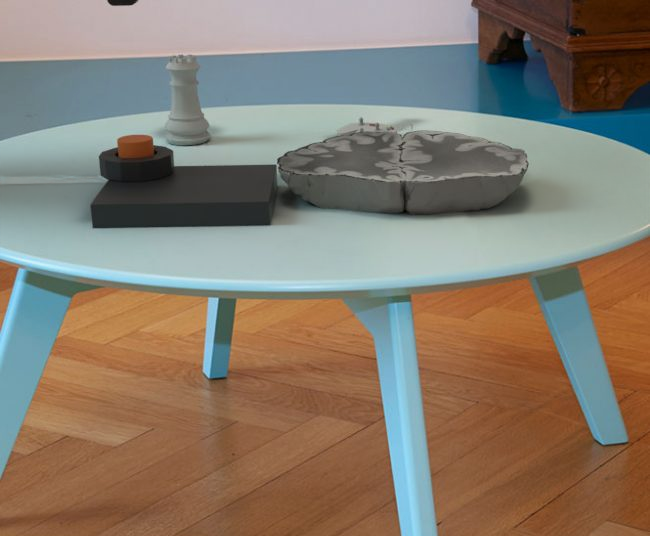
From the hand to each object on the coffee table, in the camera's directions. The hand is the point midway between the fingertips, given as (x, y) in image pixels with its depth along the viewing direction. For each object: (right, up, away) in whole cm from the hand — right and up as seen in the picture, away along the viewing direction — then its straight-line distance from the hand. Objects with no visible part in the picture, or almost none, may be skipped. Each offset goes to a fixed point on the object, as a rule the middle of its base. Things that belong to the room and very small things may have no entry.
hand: (123, 4), depth 86 cm
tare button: (0, -11, +4) cm, 12 cm away
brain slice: (+21, -14, +6) cm, 26 cm away
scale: (+5, -15, +2) cm, 16 cm away
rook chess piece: (+2, -7, +24) cm, 25 cm away
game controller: (+21, -7, +22) cm, 31 cm away
